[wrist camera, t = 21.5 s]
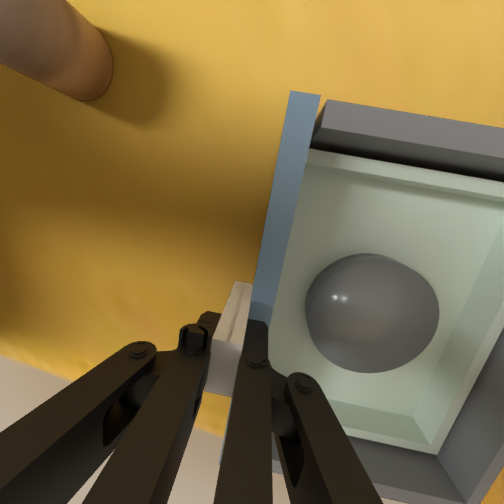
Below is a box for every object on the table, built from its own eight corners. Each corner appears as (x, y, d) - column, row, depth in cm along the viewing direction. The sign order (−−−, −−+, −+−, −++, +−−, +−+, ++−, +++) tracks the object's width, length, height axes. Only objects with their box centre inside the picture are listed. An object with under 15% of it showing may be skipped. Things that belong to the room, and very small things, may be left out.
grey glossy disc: (295, 345, 20) (297, 361, 18) (317, 244, 18) (322, 250, 16) (401, 364, 20) (415, 383, 18) (438, 263, 17) (459, 272, 15)
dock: (250, 396, 23) (243, 465, 17) (308, 131, 17) (327, 99, 11) (419, 433, 22) (470, 518, 16) (543, 172, 16) (697, 160, 10)
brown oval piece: (49, 95, 18) (-61, 46, 12) (45, 15, 16) (-80, -84, 10) (112, 106, 17) (32, 62, 12) (113, 26, 16) (24, -69, 10)
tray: (232, 394, 23) (218, 464, 17) (284, 126, 16) (290, 90, 11) (408, 433, 22) (457, 519, 16) (530, 168, 16) (680, 154, 10)
